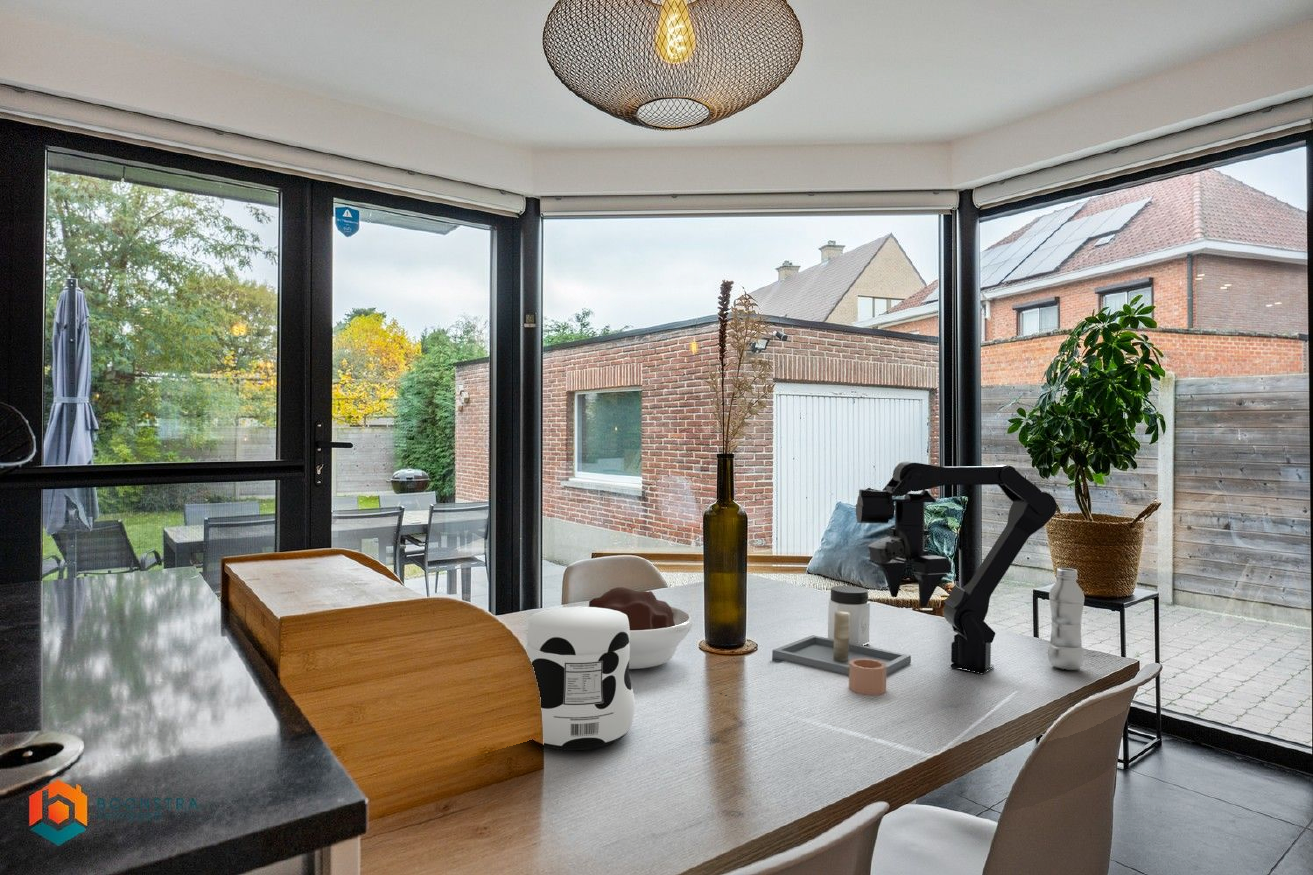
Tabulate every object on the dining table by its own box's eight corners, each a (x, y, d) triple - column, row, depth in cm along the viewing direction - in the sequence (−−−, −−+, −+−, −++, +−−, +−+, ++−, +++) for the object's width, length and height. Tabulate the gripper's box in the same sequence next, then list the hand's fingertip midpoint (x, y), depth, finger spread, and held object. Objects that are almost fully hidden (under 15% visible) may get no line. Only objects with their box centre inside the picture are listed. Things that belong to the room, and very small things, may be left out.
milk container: (577, 707, 129) (578, 600, 129) (657, 734, 118) (659, 617, 118) (494, 738, 115) (496, 618, 115) (576, 771, 105) (578, 639, 104)
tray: (910, 665, 156) (910, 655, 156) (874, 684, 143) (875, 673, 143) (812, 644, 171) (812, 635, 171) (772, 659, 158) (772, 649, 158)
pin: (851, 659, 157) (852, 613, 157) (844, 662, 155) (845, 615, 155) (837, 656, 159) (838, 610, 159) (830, 659, 157) (831, 612, 157)
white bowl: (658, 641, 171) (659, 573, 171) (714, 673, 149) (715, 595, 149) (550, 652, 161) (551, 580, 161) (592, 689, 138) (593, 605, 138)
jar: (853, 650, 166) (854, 594, 166) (821, 642, 172) (822, 588, 172) (875, 642, 172) (876, 589, 172) (843, 635, 178) (844, 583, 178)
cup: (891, 691, 140) (892, 663, 140) (876, 699, 135) (876, 671, 135) (858, 683, 144) (859, 656, 144) (842, 691, 139) (843, 663, 139)
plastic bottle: (1047, 670, 154) (1048, 570, 154) (1047, 661, 160) (1049, 565, 160) (1084, 675, 151) (1085, 573, 151) (1083, 666, 157) (1085, 568, 157)
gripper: (848, 519, 161) (847, 594, 161) (905, 531, 144) (903, 614, 144) (893, 518, 165) (892, 591, 165) (954, 529, 147) (952, 611, 147)
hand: (908, 601), depth 155 cm, fingers open, 9 cm apart
